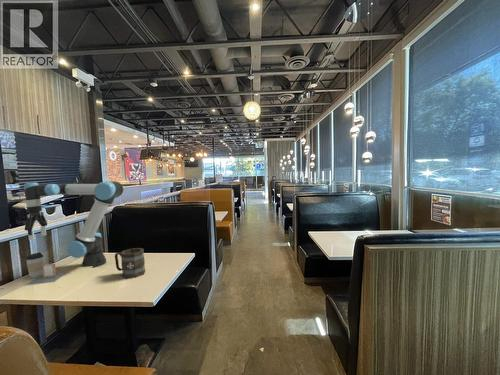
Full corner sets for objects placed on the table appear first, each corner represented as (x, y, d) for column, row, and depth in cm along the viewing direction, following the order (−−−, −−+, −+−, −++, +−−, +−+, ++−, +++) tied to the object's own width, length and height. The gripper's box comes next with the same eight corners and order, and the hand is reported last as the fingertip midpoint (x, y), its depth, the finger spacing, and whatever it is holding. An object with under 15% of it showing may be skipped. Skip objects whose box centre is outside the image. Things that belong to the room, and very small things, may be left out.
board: (68, 274, 171) (67, 272, 171) (54, 283, 156) (54, 281, 156) (40, 277, 169) (40, 275, 168) (24, 287, 153) (23, 285, 153)
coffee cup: (35, 279, 165) (33, 256, 164) (23, 279, 167) (21, 256, 166) (48, 274, 174) (46, 251, 173) (37, 273, 176) (35, 251, 175)
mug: (150, 270, 169) (148, 248, 169) (136, 279, 156) (134, 254, 155) (124, 269, 174) (122, 247, 173) (108, 277, 161) (106, 253, 160)
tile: (56, 275, 166) (54, 263, 166) (54, 276, 164) (53, 264, 164) (45, 276, 165) (44, 264, 165) (43, 277, 163) (42, 265, 163)
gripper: (38, 205, 184) (42, 234, 185) (14, 208, 159) (19, 242, 160) (50, 203, 185) (54, 233, 186) (28, 207, 161) (32, 241, 162)
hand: (38, 237), depth 173 cm, fingers open, 13 cm apart
